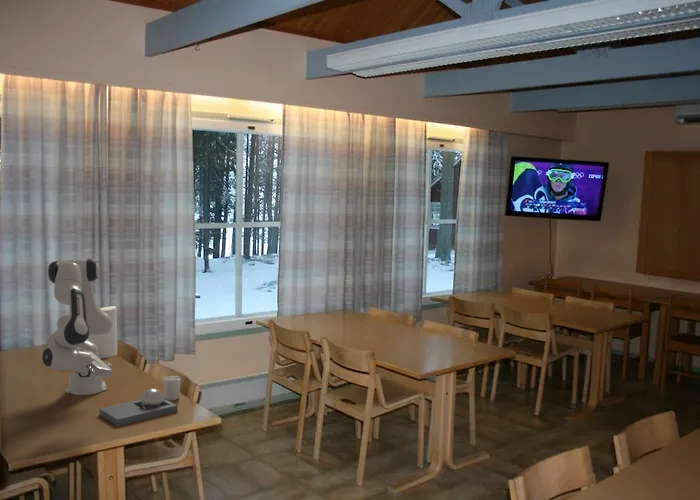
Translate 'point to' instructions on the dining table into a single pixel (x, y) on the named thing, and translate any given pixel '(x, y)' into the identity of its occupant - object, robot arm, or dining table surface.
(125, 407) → the tray
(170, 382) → the white cup
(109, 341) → the cylinder
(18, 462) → the dining table surface
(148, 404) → the steel ball
